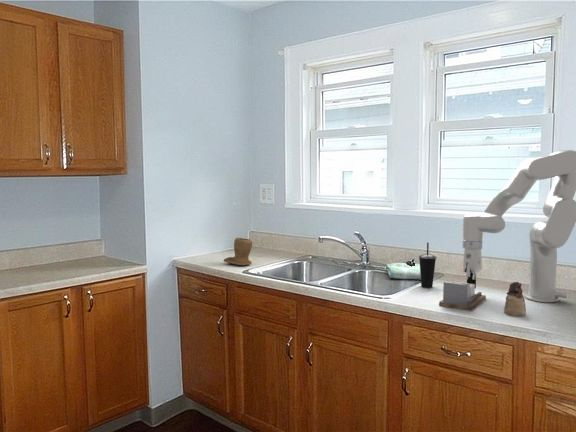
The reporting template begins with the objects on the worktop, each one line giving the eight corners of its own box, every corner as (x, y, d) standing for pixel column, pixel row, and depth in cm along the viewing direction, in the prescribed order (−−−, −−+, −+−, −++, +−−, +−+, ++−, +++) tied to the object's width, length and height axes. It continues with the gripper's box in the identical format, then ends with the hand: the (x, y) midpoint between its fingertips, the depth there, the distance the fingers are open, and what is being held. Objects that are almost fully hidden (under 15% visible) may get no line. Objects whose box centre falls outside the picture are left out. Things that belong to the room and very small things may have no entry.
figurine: (519, 310, 181) (520, 279, 179) (529, 316, 174) (531, 284, 172) (500, 311, 180) (502, 279, 179) (510, 317, 173) (511, 284, 172)
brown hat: (257, 264, 269) (256, 237, 268) (241, 267, 261) (240, 240, 259) (238, 261, 280) (238, 235, 278) (223, 264, 271) (222, 237, 269)
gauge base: (485, 299, 197) (485, 292, 196) (470, 311, 181) (470, 304, 180) (456, 294, 204) (456, 288, 204) (439, 305, 188) (439, 298, 188)
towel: (421, 271, 250) (422, 262, 249) (428, 281, 229) (429, 270, 228) (386, 271, 252) (386, 261, 252) (389, 280, 231) (390, 270, 231)
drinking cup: (433, 289, 212) (434, 244, 210) (415, 287, 216) (416, 243, 214) (437, 285, 219) (438, 242, 217) (421, 283, 223) (421, 240, 221)
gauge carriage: (474, 296, 194) (474, 284, 193) (466, 302, 186) (467, 289, 186) (452, 293, 199) (453, 281, 199) (444, 298, 191) (444, 286, 191)
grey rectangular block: (469, 304, 184) (469, 284, 183) (466, 306, 182) (467, 285, 181) (445, 300, 189) (446, 280, 188) (443, 302, 187) (443, 282, 186)
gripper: (476, 248, 190) (475, 293, 192) (487, 243, 202) (485, 286, 203) (457, 246, 194) (456, 291, 196) (468, 241, 206) (467, 283, 208)
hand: (471, 288), depth 200 cm, fingers closed
